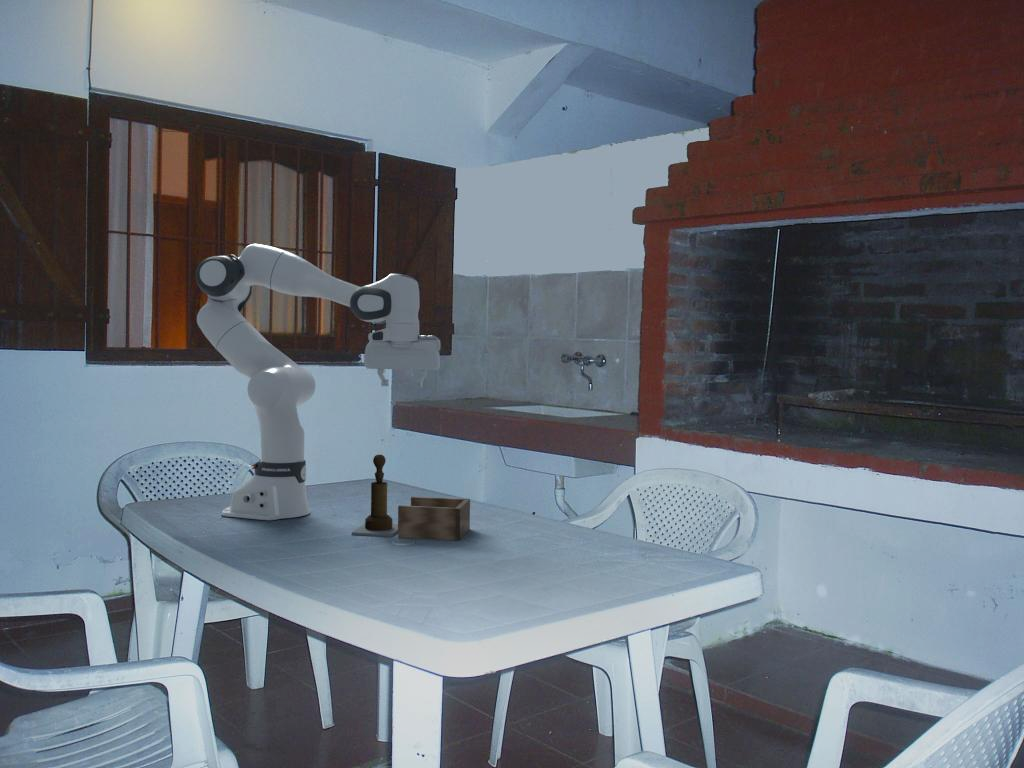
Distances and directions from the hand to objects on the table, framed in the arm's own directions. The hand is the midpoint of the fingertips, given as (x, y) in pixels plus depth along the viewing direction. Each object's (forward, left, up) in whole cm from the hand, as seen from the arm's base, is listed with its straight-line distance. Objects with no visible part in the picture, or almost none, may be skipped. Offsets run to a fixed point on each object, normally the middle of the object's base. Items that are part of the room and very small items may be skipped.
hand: (402, 386), depth 236 cm
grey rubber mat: (0, -22, -34) cm, 41 cm away
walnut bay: (+14, -22, -34) cm, 43 cm away
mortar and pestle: (0, -22, -34) cm, 40 cm away
